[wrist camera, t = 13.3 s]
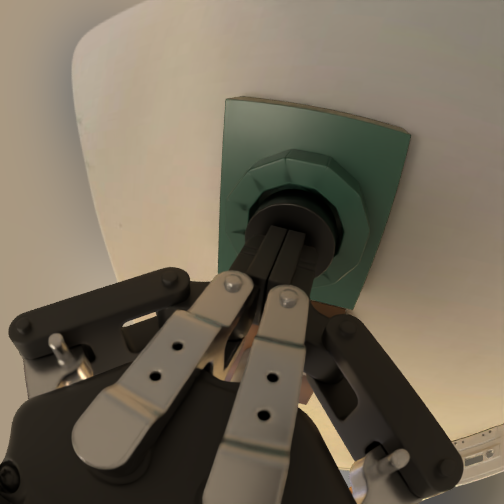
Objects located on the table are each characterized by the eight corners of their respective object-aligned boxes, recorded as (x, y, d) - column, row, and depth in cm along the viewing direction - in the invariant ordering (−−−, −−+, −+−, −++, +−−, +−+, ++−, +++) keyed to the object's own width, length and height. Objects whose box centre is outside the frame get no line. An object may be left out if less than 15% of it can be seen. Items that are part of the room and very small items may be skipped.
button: (259, 180, 13) (248, 194, 12) (345, 199, 12) (345, 216, 11) (252, 251, 16) (241, 271, 14) (326, 270, 15) (322, 292, 13)
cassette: (437, 448, 29) (435, 491, 23) (436, 445, 29) (434, 490, 23) (507, 424, 23) (511, 468, 17) (508, 420, 22) (512, 466, 16)
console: (240, 96, 15) (209, 101, 11) (402, 128, 13) (420, 142, 10) (229, 256, 21) (206, 292, 18) (354, 288, 19) (351, 331, 16)
